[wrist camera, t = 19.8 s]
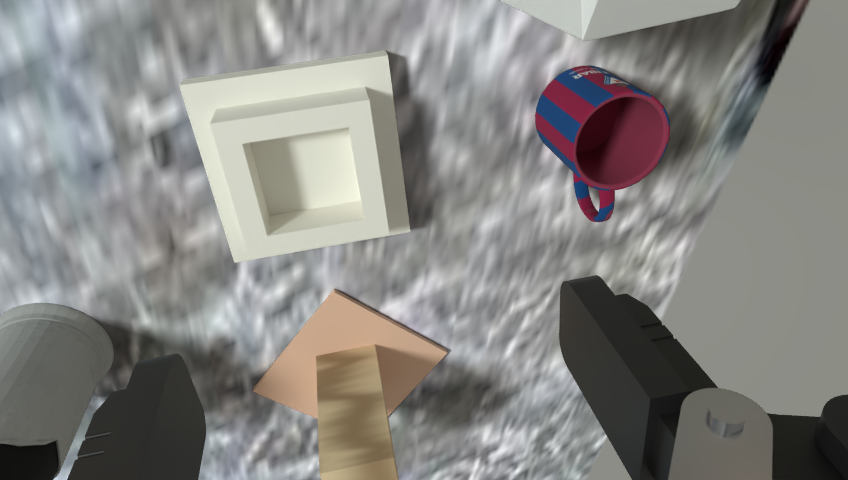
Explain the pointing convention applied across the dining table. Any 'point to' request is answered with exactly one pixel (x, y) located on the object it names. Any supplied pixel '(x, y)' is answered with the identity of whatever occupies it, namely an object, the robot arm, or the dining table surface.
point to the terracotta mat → (341, 330)
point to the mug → (601, 133)
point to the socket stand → (301, 153)
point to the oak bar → (353, 417)
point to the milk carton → (615, 14)
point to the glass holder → (46, 385)
